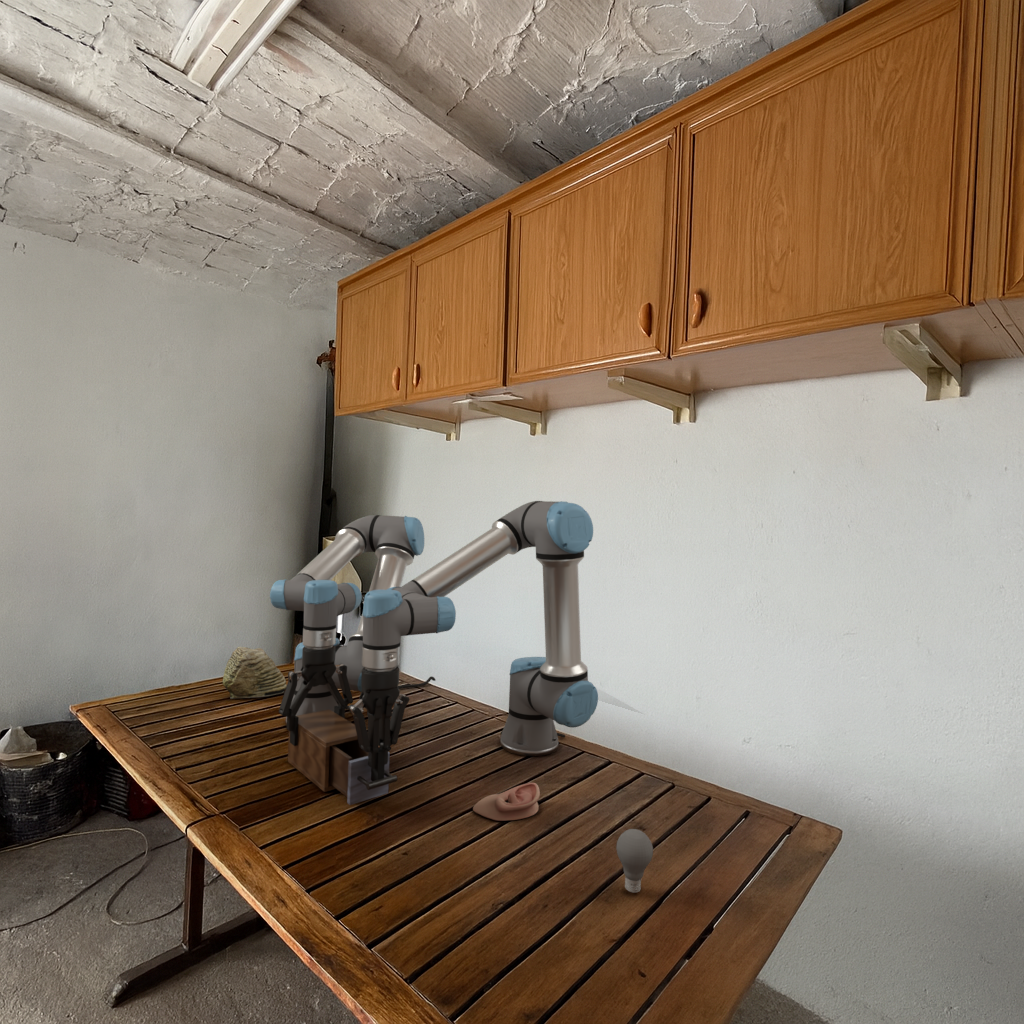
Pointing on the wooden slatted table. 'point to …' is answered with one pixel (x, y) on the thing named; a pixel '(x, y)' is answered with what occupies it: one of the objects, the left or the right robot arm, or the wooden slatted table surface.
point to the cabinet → (319, 744)
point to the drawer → (356, 773)
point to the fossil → (252, 674)
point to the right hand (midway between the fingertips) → (377, 781)
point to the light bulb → (634, 857)
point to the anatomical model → (510, 803)
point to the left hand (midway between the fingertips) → (315, 738)
